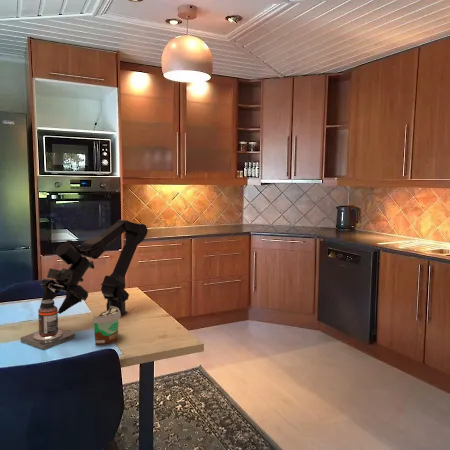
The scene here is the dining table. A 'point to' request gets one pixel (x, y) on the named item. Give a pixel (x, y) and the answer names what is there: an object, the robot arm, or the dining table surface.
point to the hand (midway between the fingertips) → (49, 310)
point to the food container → (106, 326)
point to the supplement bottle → (48, 318)
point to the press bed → (47, 339)
